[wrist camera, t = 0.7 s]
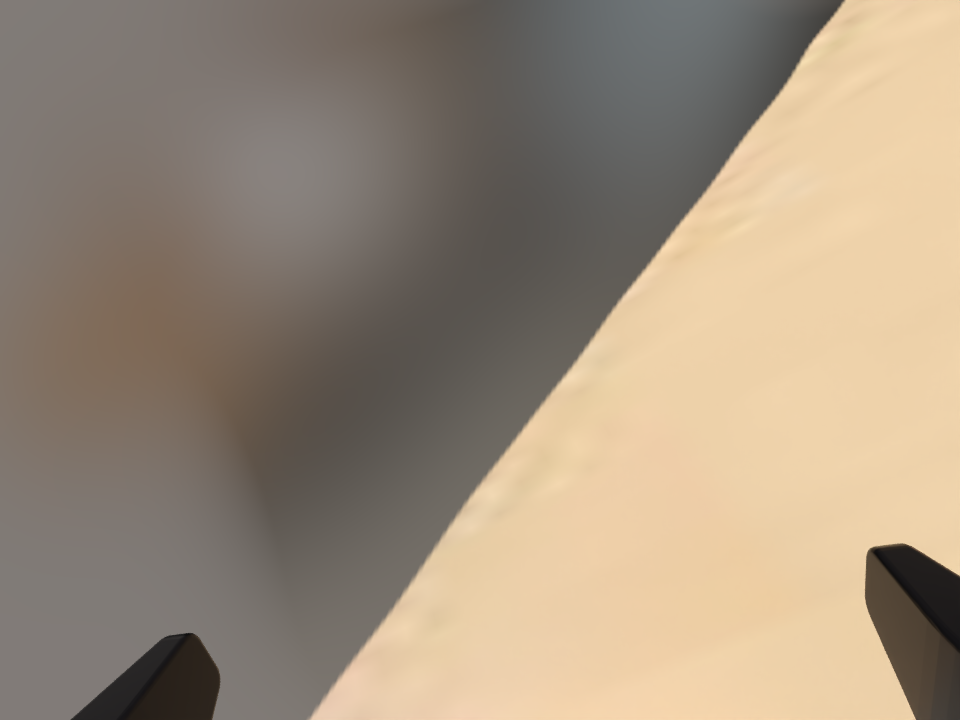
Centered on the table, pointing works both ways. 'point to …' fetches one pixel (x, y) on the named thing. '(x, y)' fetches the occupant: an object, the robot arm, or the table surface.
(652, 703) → the table surface
